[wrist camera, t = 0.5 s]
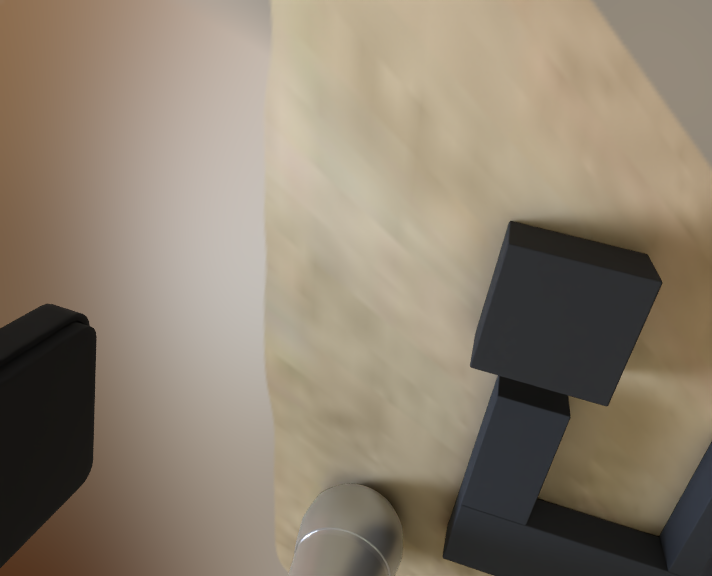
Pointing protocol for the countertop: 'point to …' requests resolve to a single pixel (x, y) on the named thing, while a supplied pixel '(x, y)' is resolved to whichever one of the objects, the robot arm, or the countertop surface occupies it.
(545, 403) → the notched tile
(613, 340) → the black pad
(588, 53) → the countertop surface
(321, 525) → the plastic bottle
